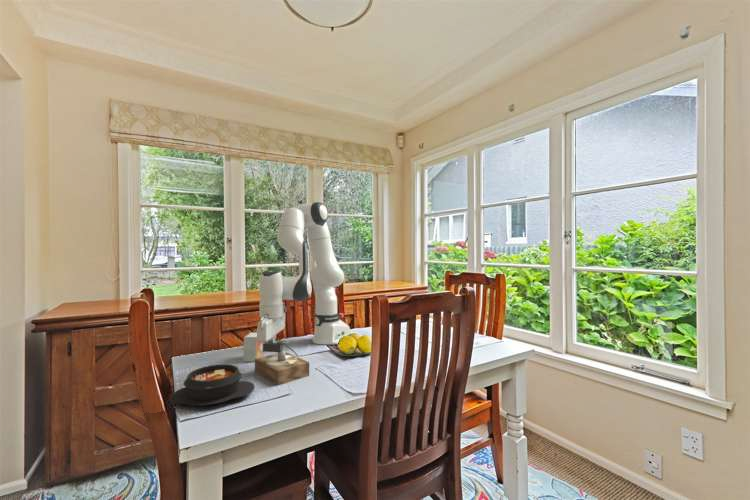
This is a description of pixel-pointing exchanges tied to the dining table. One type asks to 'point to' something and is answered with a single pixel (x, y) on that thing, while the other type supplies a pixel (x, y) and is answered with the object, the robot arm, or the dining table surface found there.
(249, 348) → the small box
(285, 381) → the dial block
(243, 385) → the casserole
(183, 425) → the dining table surface
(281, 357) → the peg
